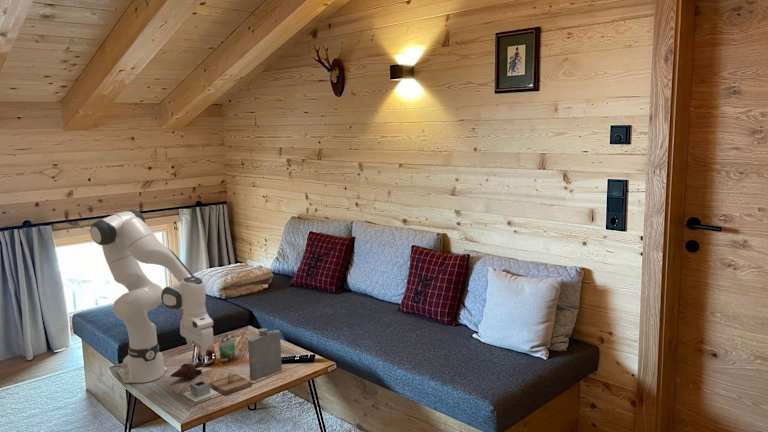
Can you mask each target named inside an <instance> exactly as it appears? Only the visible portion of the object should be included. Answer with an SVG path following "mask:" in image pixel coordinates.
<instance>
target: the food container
mask: <svg viewBox="0 0 768 432" xmlns="http://www.w3.org/2000/svg"><path fill="white" fill-rule="evenodd" d="M236 343H237V338H236V337H235V335H234V334H232V333H225V337H223V338H222V339H221V341H219V342H218V349H219V357H220V358H219V359H220V363H221V364H222V363H228V362H231V361H234V360H235V358H236V357H235V355H236V349H235V347H236Z"/></svg>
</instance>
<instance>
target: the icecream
mask: <svg viewBox="0 0 768 432" xmlns="http://www.w3.org/2000/svg"><path fill="white" fill-rule="evenodd" d="M203 365H204V362H202V361H199V362H197V363H195V364H192V363H183V364H181V366H180V367H179V369H178V370H176V371H174V372H173V373H171V374H170V376H169V377H170V378H171V377H172V378H183V379H184V380H185V381H188V380H190V379H192V378H194V377H195V376H196V375H200V374H202V372H203V370H202V369H199V368H201V367H202V366H203Z"/></svg>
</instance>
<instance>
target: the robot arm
mask: <svg viewBox="0 0 768 432" xmlns="http://www.w3.org/2000/svg"><path fill="white" fill-rule="evenodd" d="M89 231H90V236H91V239H92V240H93V242H94V243H95V244H97V245H99V246H102V247H101V248H102V252H103V255H104V258H105V261H106V265H107V266H108V267H109V270H110V273H111V275H112V277H113V279H114V281H115V282H116V283H117V284H121V285H122V286H124V288H126V289H127V291H128V292H127V291H126V292H125V293H123V294H121V295H120V296H119V297H118V298H116V299H115V301H114V302H113V305H112V310H113V314H114V315H115V316H116V317H117V318H118V319H119V320H122V321H123V323H124V325H125V326H126V330H127V334H128V343H129V344H128V351H127V352H128V353H127V355H126V356H125V357H124V358H123V359H122V363H121V364H120V369H118V371H117V373H118V375H119V376H120V378H121V380H122V382H123V383H124V384H131V383H132V384H133V383H134V384H139V383H141V384H142V383H148V382H153V381H155V380H158V379H160V378H161V377H163V376H164V375H165V372H167V371H168V370H169V369H168V367H167V366H165V363H164V356H163V353H162V352H161V351H160V345H159V342H158V337H157V336H158V335H157V326H156V324H155V323H153V322H152V321H150V320H149V317H148V313H149V312H150V311H152V310H154V309H156V308H157V307H159V306H160V304H163V306H165V308H167V309H169V310H179V309H182V315H181V319H180V322H179V323H180V324H179V334H180V336H181V337H183V338H185V341H186V343H187V348H188V349H189V350H194V348H195V345H194V343H195V344H197V345H198V346H200V350H199V355H200V356H202V357H203V356H206V355H207V348H209V347H211V346H213V344H214V329H213V326H214V320H213V319H212V318H211V317H210V316H209V313H208V312H207V307H206V299H207V296H206V294H207V293H206V288H205V283H204V281H203V279H201V278H200V277H199V276H198V277H196V276H195V275H194V274H193V273H192V272H191V271H190V270H189V268H188V267H187V266H186V265H185V264H184V263H183V262H182V260H181V259H180V258H179V256H177V254H175V252H173V251H172V250H171V249H170V248H168V247H167V246H166V245H164V244H163V243H162V242H160V240H159V239H158V238H157V237H156V235H155V234H154V233H153V231H152V230H151V228H150V227H149V226H148V225H147V223H146V219H145V217H144V215H143V213H141V212H140V211H139V210H137V209H129V210H126V211H122V212H117V213H113V214H112V215H110V216H107V217H104V218H102V219H98V220H96V221H95V222H93V223H92V224H91V226H90V229H89ZM139 263H142V264H146V265H147V264H148V265H158V266H161V267H164V268H165V269H167V270H168V271H169V272H170V273H171V274H172V275H173V277H174V278H175V279H176V280H177V281H178V282H175V283H173V284H170V285H167V286H166V287H164V288H162V286H160V285H159V284H157V283H154V281H152V280H150V278H148V276H147V275H146V274H145V273H144V271H143V269H142V268H141V266H140V264H139Z"/></svg>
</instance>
